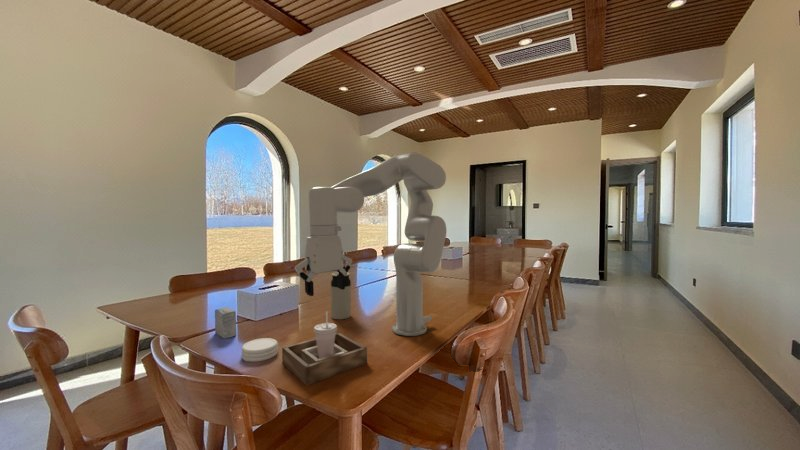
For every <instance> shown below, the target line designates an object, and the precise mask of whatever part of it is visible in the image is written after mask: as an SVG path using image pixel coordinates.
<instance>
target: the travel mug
mask: <svg viewBox="0 0 800 450" xmlns="http://www.w3.org/2000/svg"><path fill="white" fill-rule="evenodd" d="M338 274H339V273H338V272H337V271H335V272H332V273H331V276H332V277H331V282H330V316H331V318H332V319H334V320H346V319H348V318H349V319H350V317H351V315H352V312H351V309H352V306H351V304H352V302H351V301H352V300H351V299H352V297H351V295H352V292H351V288H352V287H351V283H352V282H351V279H350V275H351V273H350V272H349V271H348V272H347V275H346V276H345V289H344V290H342V289H339V288H338V287H337V275H338Z"/></svg>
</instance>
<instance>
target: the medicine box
mask: <svg viewBox="0 0 800 450" xmlns="http://www.w3.org/2000/svg"><path fill="white" fill-rule="evenodd" d="M236 314H237V313H236V311H235V310H234V309H232V308H230V307H228V306H226V307H222V308H221V307H220V308H217V309H214V327H215V328H214V330H215V331H214V332H215V334H216V335H218V336H219V337H220V338H222V339H228V338H231V337H235V336H237V317H236V316H237V315H236Z"/></svg>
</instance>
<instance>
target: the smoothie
mask: <svg viewBox="0 0 800 450" xmlns="http://www.w3.org/2000/svg"><path fill="white" fill-rule="evenodd" d="M337 330H338V325H337V324H335V323H332V322H329V312H328V311H327V310H326V311H325V322H323V323H318V324H315V326H314V327H313V332H314V333H315V339H316V342H317V349H318V356H319V359H320V358H324V357H327V356H330V355H333V351H334V342H335V333H337Z"/></svg>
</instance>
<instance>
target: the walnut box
mask: <svg viewBox="0 0 800 450" xmlns="http://www.w3.org/2000/svg"><path fill="white" fill-rule="evenodd" d="M281 349H282V351H281V353H282V355H281V356H282V364H283V365H284V367H286V368H287V369H288V370H289V371H291V372H292V374H294V376H296V377H297V378H298V379H299V380H300V381H301V382H302V383H303V384H304V385H305V386H309V385H312V384H315V383H317V382H319V381H323V380H326V379H328V378H332V377H335V376H337V375H340V374H342V373H345V372H349V371H351V370H354V369H357V368H359V367H362V366H365V365H367V364H368V347H366V346H364V345H363V344H361V343H360V342H357V341H355V340H353V339H351V338H350V337H348V336H346V335H345V334H342V333H340V332H339V331H338V332H336V333H335V342H334V351H333V355H330V356H327V357H324V358H320V359H319V356H318V349H317V342H316V338H312V339H308V340H305V341H301V342H297V343H294V344H290V345H286V346H282V347H281Z"/></svg>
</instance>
